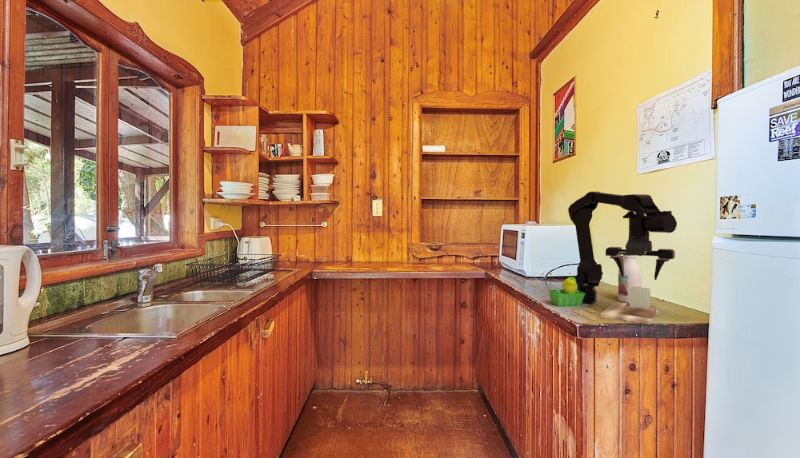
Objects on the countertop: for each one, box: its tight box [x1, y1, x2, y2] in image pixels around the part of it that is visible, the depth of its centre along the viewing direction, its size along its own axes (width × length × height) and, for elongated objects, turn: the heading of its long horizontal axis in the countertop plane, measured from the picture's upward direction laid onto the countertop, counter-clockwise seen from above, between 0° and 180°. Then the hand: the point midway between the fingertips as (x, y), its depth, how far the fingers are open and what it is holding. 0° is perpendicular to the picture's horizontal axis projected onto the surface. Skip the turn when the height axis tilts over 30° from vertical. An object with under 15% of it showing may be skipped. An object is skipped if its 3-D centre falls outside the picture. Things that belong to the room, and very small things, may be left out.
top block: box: [629, 287, 651, 309], centre depth 118 cm, size 5×5×6 cm
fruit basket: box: [547, 276, 585, 307], centre depth 135 cm, size 11×9×11 cm
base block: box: [623, 303, 657, 319], centre depth 118 cm, size 8×8×2 cm
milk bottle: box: [617, 254, 643, 303], centre depth 139 cm, size 8×8×20 cm
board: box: [599, 301, 662, 325], centre depth 122 cm, size 14×22×1 cm, turn 137°
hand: (638, 278), depth 118 cm, fingers open, 9 cm apart
